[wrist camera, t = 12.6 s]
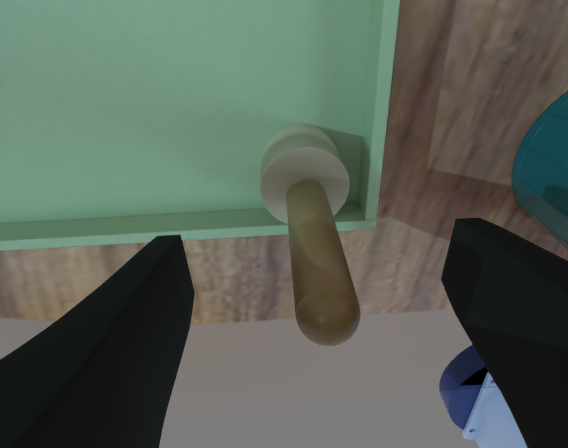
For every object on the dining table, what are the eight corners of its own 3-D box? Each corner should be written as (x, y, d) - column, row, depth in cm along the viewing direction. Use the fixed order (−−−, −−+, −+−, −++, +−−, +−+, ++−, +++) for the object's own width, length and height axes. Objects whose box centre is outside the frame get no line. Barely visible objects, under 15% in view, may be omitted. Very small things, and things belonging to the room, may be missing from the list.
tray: (365, 206, 17) (375, 229, 15) (-176, 236, 17) (-225, 264, 15) (401, -210, 10) (428, -251, 8) (-527, -162, 10) (-696, -196, 8)
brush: (336, 194, 16) (400, 381, 8) (264, 198, 16) (259, 389, 8) (339, 121, 14) (424, 272, 6) (257, 125, 14) (244, 283, 6)
